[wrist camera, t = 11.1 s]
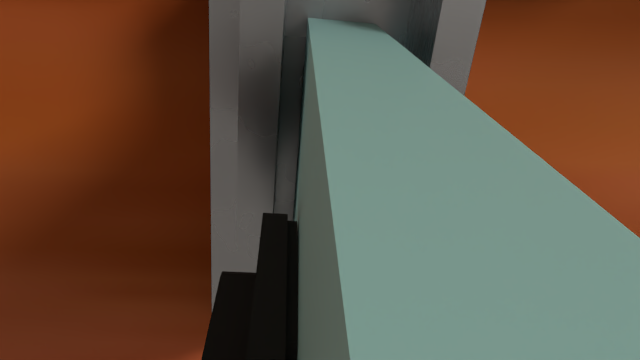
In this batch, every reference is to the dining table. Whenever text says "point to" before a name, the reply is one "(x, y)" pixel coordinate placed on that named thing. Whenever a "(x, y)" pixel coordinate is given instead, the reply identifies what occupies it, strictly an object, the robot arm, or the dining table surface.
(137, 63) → the dining table surface
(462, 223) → the teal rectangular slab
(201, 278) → the dining table surface
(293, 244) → the robot arm
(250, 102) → the stand
